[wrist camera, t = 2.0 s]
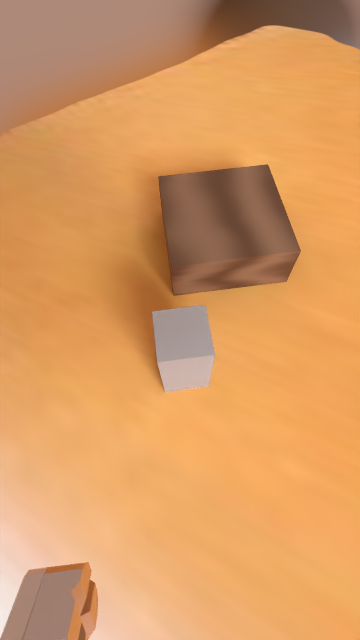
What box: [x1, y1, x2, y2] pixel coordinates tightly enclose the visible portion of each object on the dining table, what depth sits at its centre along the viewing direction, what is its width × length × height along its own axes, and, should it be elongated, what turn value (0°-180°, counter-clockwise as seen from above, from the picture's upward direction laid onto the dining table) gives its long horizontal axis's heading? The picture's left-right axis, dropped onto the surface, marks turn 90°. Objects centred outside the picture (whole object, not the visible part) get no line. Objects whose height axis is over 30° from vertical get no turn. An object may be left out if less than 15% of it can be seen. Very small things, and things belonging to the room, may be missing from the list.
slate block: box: [152, 305, 215, 392], centre depth 27 cm, size 4×4×8 cm
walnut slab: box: [158, 165, 301, 295], centre depth 35 cm, size 12×12×5 cm
